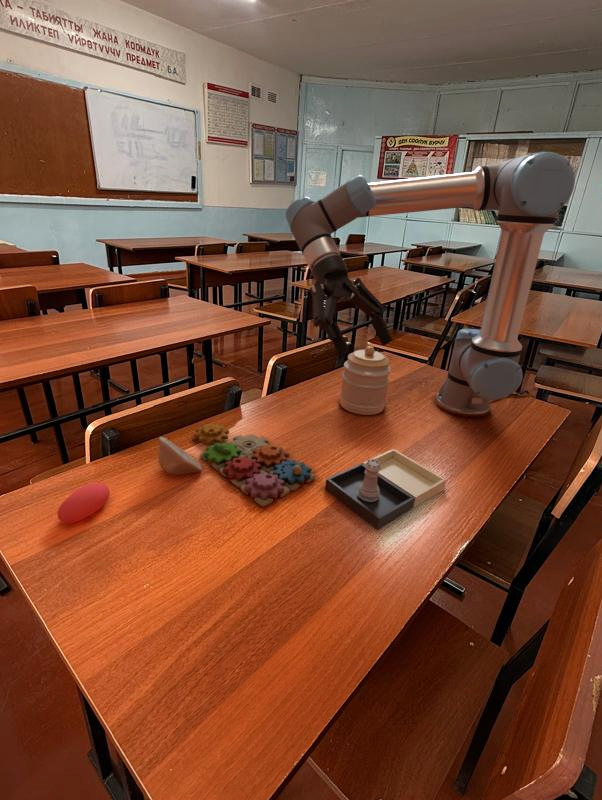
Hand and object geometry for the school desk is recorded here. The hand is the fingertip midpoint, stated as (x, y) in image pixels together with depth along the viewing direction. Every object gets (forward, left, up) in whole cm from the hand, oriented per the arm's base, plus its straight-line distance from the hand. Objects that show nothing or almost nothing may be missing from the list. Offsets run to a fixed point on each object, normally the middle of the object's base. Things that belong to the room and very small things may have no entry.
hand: (367, 347), depth 93 cm
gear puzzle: (+24, -9, -25) cm, 36 cm away
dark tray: (+12, +16, -25) cm, 31 cm away
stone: (+37, -13, -25) cm, 47 cm away
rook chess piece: (+12, +15, -24) cm, 31 cm away
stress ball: (+56, -10, -25) cm, 62 cm away
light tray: (+1, +16, -25) cm, 29 cm away
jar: (-18, -14, -25) cm, 34 cm away
